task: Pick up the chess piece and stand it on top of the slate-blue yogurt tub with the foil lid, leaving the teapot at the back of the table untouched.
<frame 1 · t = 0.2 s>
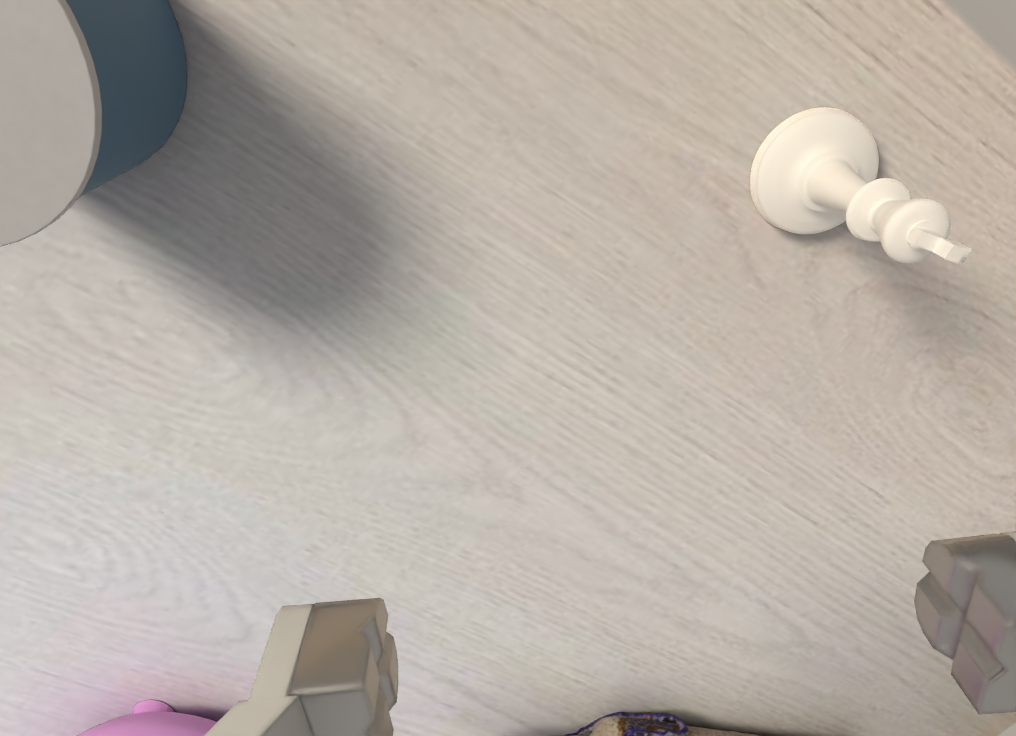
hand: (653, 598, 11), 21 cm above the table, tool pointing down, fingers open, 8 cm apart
yogurt tub: (57, 49, 26), on the table
chess piece: (808, 170, 29), on the table
decorative bottle: (682, 724, 45), on the table
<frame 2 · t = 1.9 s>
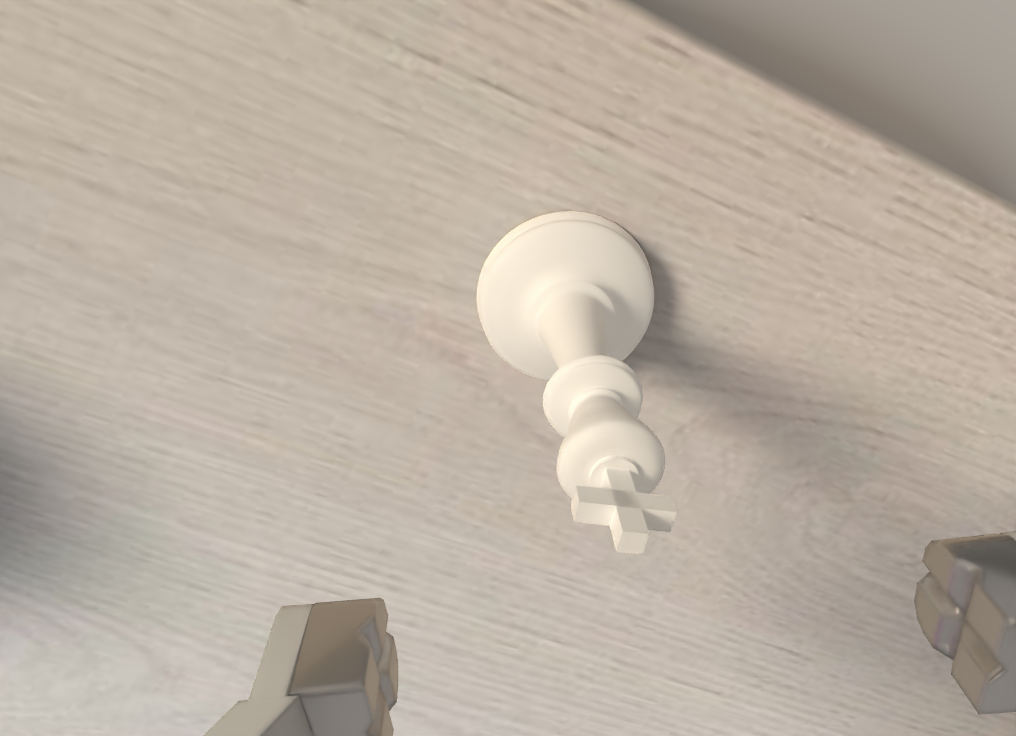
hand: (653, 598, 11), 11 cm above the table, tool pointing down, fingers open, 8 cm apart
chess piece: (563, 293, 21), on the table
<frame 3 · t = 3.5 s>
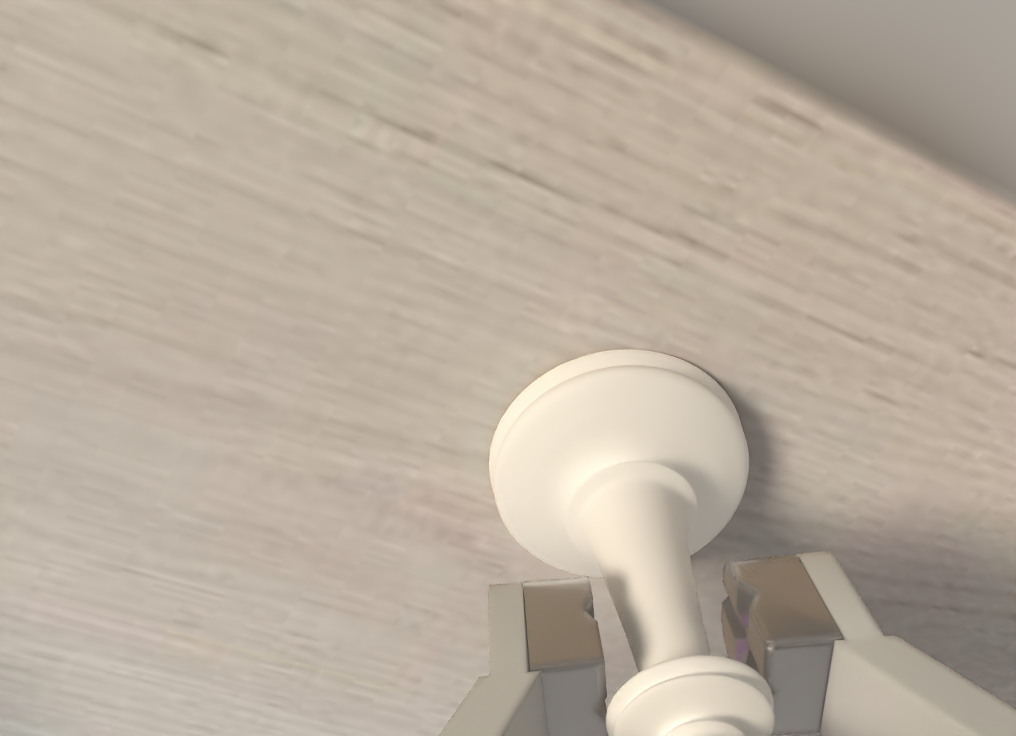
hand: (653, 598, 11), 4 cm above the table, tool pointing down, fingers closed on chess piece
chess piece: (613, 455, 14), on the table, touching gripper
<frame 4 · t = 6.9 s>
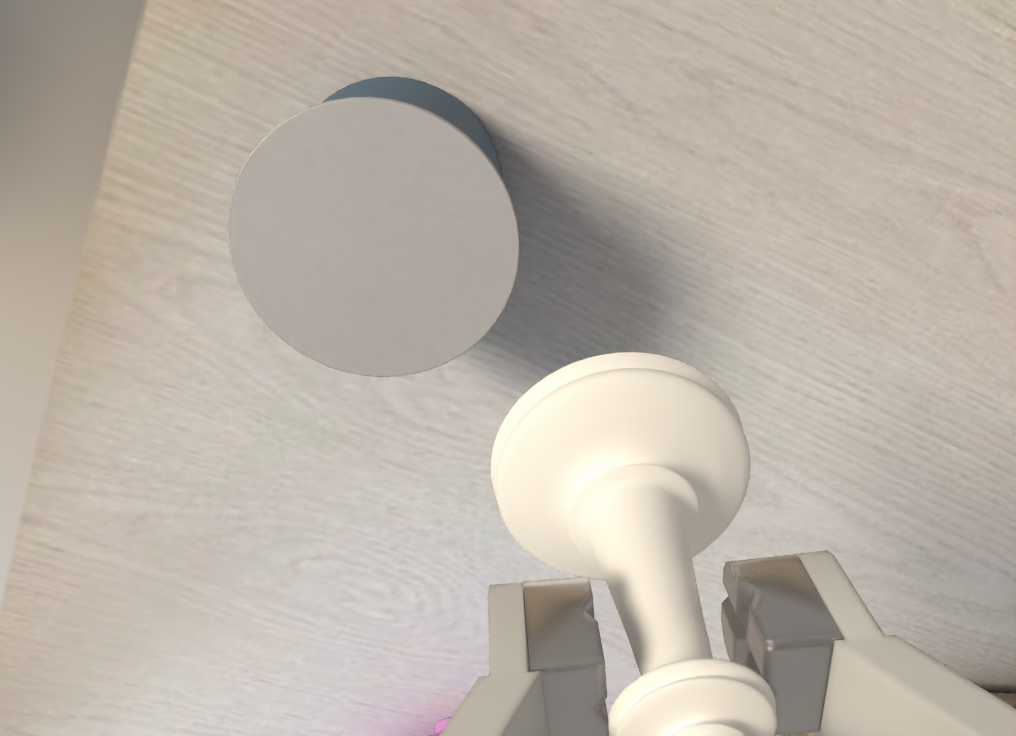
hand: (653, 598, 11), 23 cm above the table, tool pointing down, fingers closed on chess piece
yogurt tub: (397, 188, 31), on the table
chess piece: (615, 457, 14), point 20 cm above the table, touching gripper
decorative bottle: (926, 690, 49), on the table
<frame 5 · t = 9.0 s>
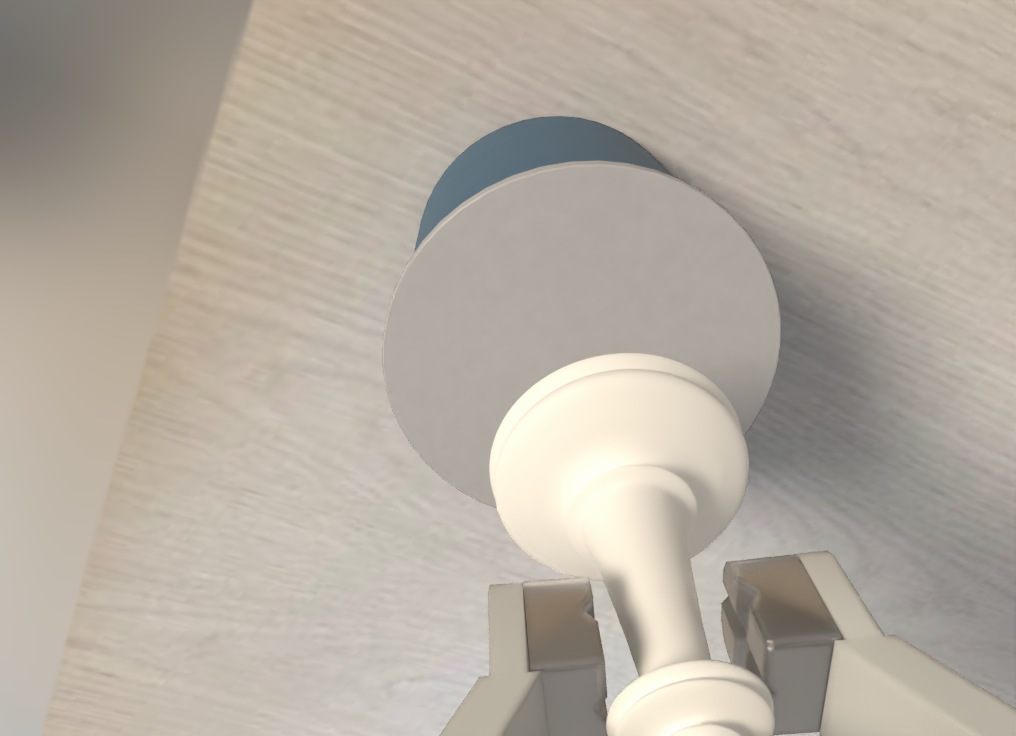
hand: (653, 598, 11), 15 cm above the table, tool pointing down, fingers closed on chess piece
yogurt tub: (551, 254, 25), on the table
chess piece: (614, 458, 14), point 12 cm above the table, touching gripper
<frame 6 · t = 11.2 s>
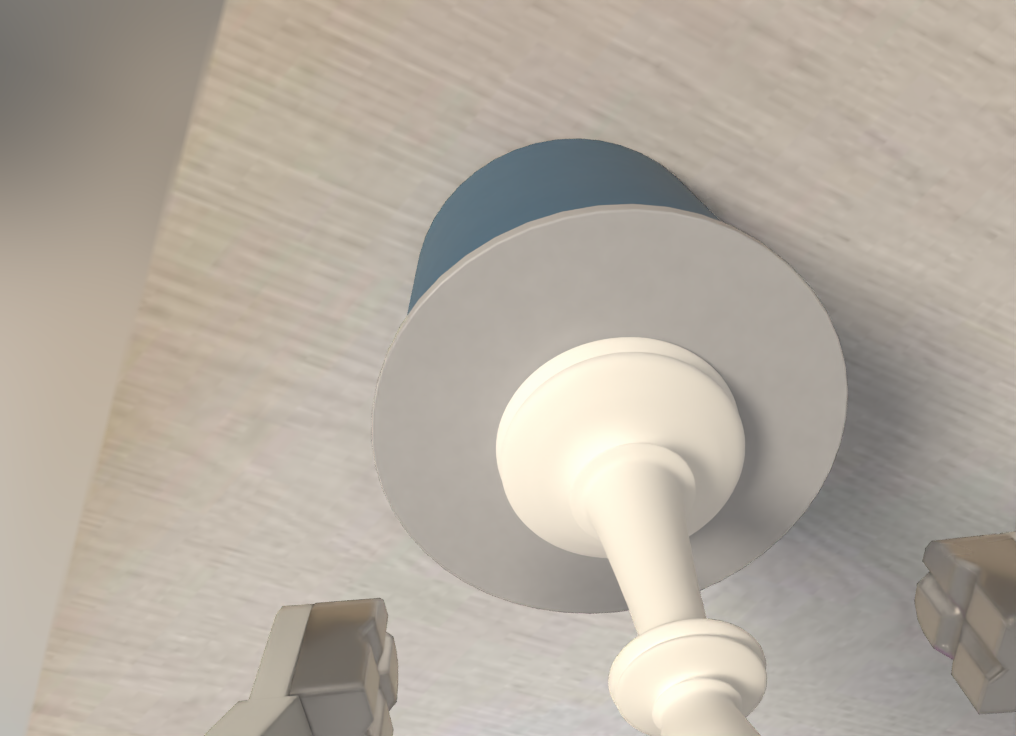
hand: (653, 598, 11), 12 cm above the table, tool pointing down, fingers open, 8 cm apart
yogurt tub: (566, 293, 22), on the table, touching chess piece
chess piece: (615, 439, 15), point 8 cm above the table, touching yogurt tub
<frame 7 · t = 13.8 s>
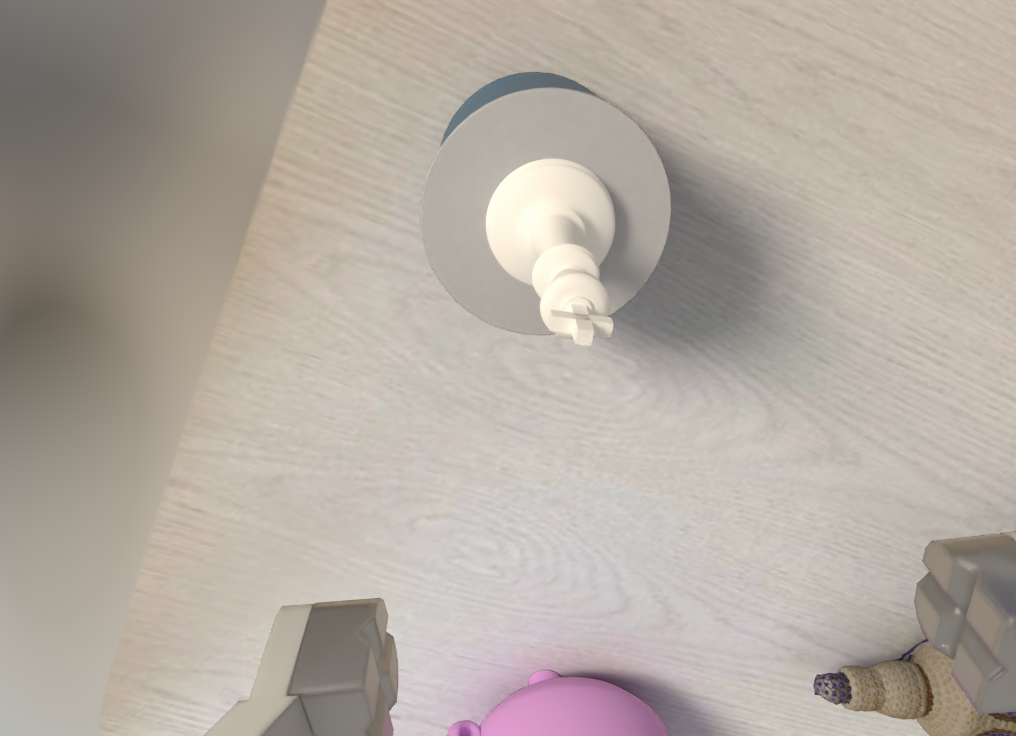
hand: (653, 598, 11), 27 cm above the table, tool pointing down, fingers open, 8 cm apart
yogurt tub: (532, 172, 35), on the table, touching chess piece
chess piece: (549, 222, 28), point 8 cm above the table, touching yogurt tub
teapot: (574, 716, 54), on the table
decorative bottle: (987, 642, 52), on the table
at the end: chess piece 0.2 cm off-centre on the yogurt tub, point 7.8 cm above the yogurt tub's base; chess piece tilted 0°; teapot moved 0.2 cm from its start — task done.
